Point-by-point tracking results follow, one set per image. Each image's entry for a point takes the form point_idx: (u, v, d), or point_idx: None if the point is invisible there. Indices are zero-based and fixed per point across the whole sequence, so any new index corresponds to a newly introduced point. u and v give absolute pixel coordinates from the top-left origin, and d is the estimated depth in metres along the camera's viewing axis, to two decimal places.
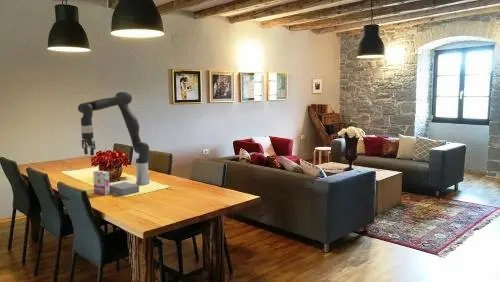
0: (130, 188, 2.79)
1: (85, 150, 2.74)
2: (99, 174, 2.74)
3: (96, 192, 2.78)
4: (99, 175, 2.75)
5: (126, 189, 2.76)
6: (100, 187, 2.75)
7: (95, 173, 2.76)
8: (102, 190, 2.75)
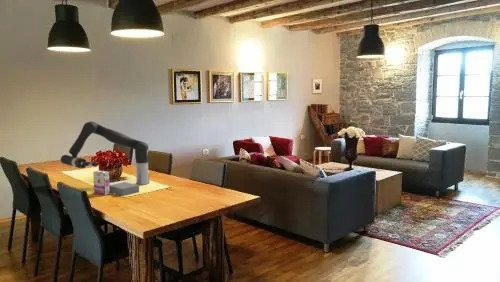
0: (130, 188, 2.79)
1: (93, 164, 2.90)
2: (99, 174, 2.74)
3: (96, 192, 2.78)
4: (99, 175, 2.75)
5: (126, 189, 2.76)
6: (100, 187, 2.75)
7: (95, 173, 2.76)
8: (102, 190, 2.75)
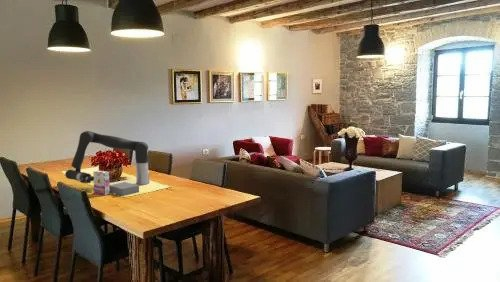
0: (130, 188, 2.79)
1: None
2: (99, 174, 2.74)
3: (96, 192, 2.78)
4: (99, 175, 2.75)
5: (126, 189, 2.76)
6: (100, 187, 2.75)
7: (95, 173, 2.76)
8: (102, 190, 2.75)
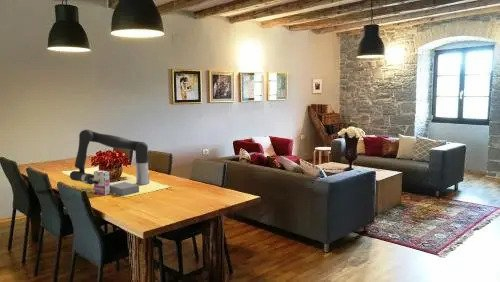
0: (130, 188, 2.79)
1: None
2: (99, 174, 2.75)
3: (96, 192, 2.78)
4: (99, 175, 2.75)
5: (126, 189, 2.76)
6: (100, 186, 2.75)
7: (95, 173, 2.77)
8: (102, 190, 2.75)
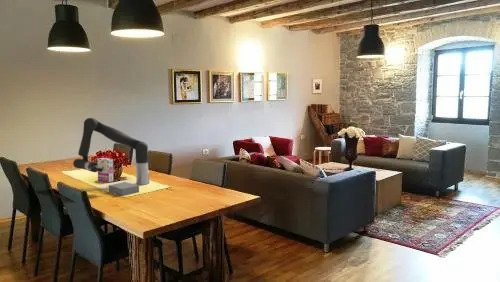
0: (130, 188, 2.79)
1: None
2: (103, 161, 2.74)
3: (100, 179, 2.78)
4: (103, 162, 2.75)
5: (126, 189, 2.76)
6: (104, 174, 2.75)
7: (99, 160, 2.77)
8: (106, 177, 2.75)
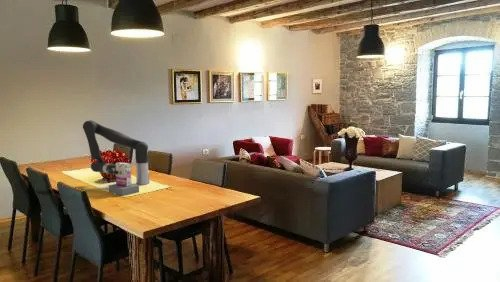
0: (130, 188, 2.79)
1: None
2: (121, 166, 2.80)
3: (118, 183, 2.83)
4: (121, 167, 2.80)
5: (126, 189, 2.76)
6: (122, 178, 2.81)
7: (117, 165, 2.82)
8: (124, 181, 2.80)
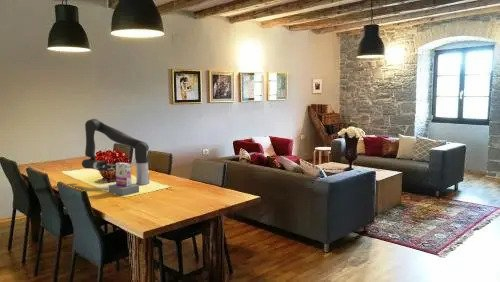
0: (130, 188, 2.79)
1: (115, 167, 2.96)
2: (121, 166, 2.80)
3: (118, 183, 2.83)
4: (121, 167, 2.80)
5: (126, 189, 2.76)
6: (122, 178, 2.81)
7: (117, 165, 2.82)
8: (124, 181, 2.80)
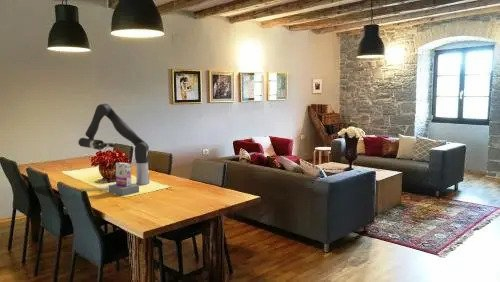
0: (130, 188, 2.79)
1: (111, 146, 2.96)
2: (121, 166, 2.80)
3: (118, 183, 2.83)
4: (121, 167, 2.80)
5: (126, 189, 2.76)
6: (122, 178, 2.81)
7: (117, 165, 2.82)
8: (124, 181, 2.80)
